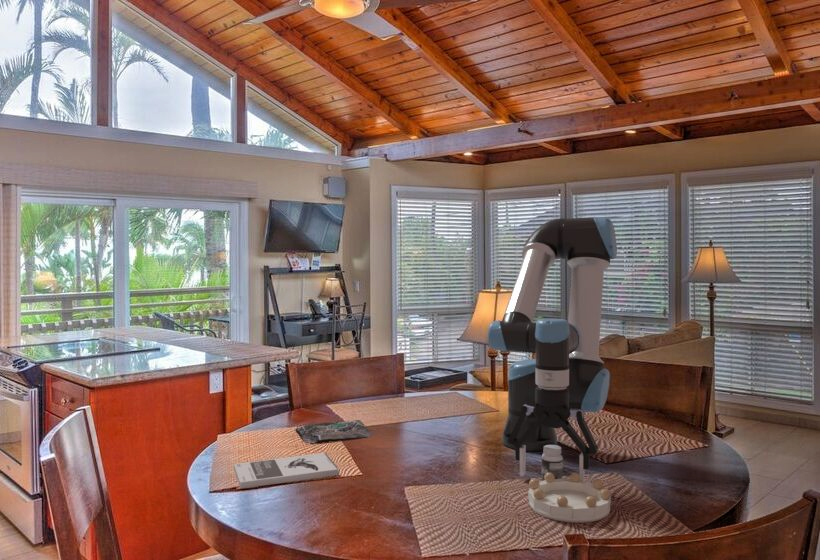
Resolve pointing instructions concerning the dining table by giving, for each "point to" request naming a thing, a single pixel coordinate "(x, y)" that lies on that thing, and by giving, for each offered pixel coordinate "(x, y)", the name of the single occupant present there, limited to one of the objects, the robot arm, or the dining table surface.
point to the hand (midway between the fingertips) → (551, 478)
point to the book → (284, 470)
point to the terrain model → (333, 431)
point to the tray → (569, 499)
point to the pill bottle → (552, 461)
